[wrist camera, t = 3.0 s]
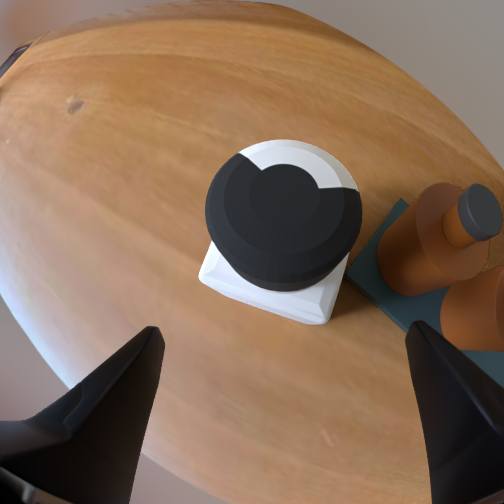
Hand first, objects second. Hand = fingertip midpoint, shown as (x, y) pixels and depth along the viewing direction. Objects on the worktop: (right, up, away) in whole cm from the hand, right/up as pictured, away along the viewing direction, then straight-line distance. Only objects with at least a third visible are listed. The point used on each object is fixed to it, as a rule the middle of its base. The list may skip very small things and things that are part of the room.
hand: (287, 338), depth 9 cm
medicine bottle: (+1, +2, +12) cm, 13 cm away
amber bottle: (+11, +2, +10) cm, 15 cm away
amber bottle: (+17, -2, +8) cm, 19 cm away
